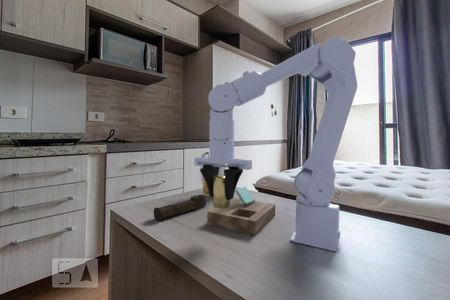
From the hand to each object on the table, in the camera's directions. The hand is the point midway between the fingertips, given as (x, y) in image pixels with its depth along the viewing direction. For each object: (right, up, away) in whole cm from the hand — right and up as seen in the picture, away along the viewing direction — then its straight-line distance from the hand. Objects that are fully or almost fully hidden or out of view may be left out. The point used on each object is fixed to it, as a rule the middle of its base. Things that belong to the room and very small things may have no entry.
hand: (221, 197), depth 52 cm
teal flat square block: (+7, -3, +15) cm, 17 cm away
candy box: (-4, -8, +37) cm, 38 cm away
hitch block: (+6, -9, +11) cm, 16 cm away
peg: (0, -2, 0) cm, 2 cm away
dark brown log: (-13, -9, +18) cm, 23 cm away
